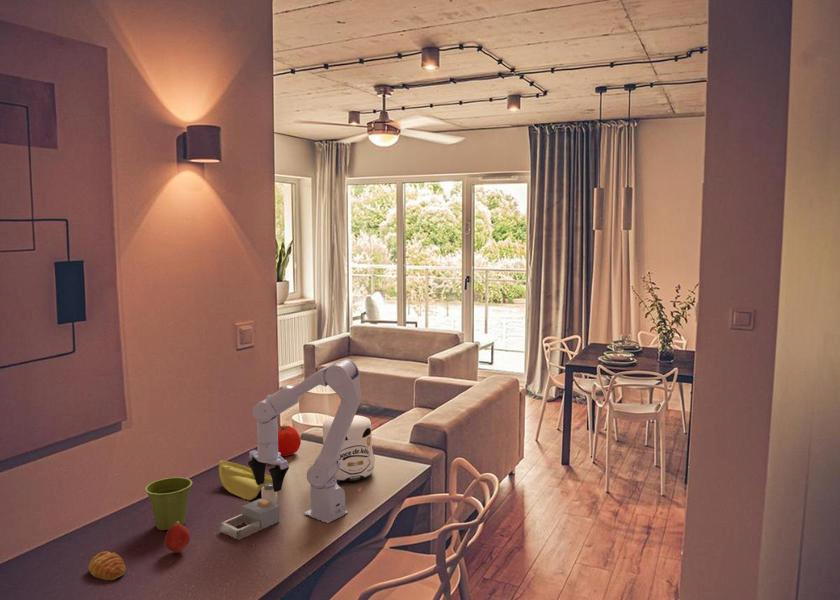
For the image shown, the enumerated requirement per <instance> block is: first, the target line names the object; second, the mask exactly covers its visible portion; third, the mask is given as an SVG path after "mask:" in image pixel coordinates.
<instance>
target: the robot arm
mask: <svg viewBox="0 0 840 600" xmlns="http://www.w3.org/2000/svg"><path fill="white" fill-rule="evenodd" d="M360 376H361V371H360V370H359V368H358V366H357V364H356V362H355V361H353V360H352V359H349V358H343V359H340V360H339V361H338V362H337V363H336V362H334V363H332V364H329V365H328V366H325V367H323V368H321V369H319V370H317V371H316V372H314V373H313V374H311V375H309V376H308V377H307V378H305V379H304V380H302V381H301V382H299V383H298V384H296V385H289V384H287V385H286V386H285V385H281V386H280V387H278V390H277V391H276V392H273V394H268V395H266V396H265V399H263V400H262V401H259V402H257V404H255V405H254V406H253V408H252V415H253V419H254V420H256V440H257V441H256V443H257V446H256V447H257V448H256V449H257V450H256V449H253V450H251V451H249V453H248V454H249V456H248V457H249V459H251V460H249V461H248V462H247V464H248V466H249V468H251V469H252V471H253V474H254V477H255V480H256V484H257V485H261V484H263V483H264V480H265V474H266V466H267V464H269V465H272V466H274V467H272V468H268V472H269V474H270V476H271V477H272V481H273V490H274V492H277V493H278V492H280V491H282V488H283V483H284V480H285V476H286V474H287V472H288V470H289V469H290V466H289V464H288V460H286V459H284V457H283V456H282V457H281V453H279V452H278V428H279V427H278V426H279V423H278V416H279V415H280V414H282V413H284V412H285V411H287V410H288V409H291V408H292V407H294V406H295V405H297V404H299V402H300V397H301V396H302V395H304V394H306V393H308V392H309V391H311V390H313V389H315V388H316V387H318V386H322V387H327V386H328V387H329V388H330V389H331V390H332V391H333V392H335V394H336V395H337V396H338V397H339V399H340V402H339V406H338V408H337V410H336V413H335V415H334V416H333V417H334V420H333V422H332V425H331V428H330V430H329V433H328V435H327V438H326V440H325V443H324V445H322V448H321V451H320V452H319V454H318V455H317V457H316V458H315V461H314V463H313V464H312V466H309V468H308V470H307V471H306V479H307V482H308V483H309V485H310V509H309V510H306V511H305V512H304V513H305V514H307V515H306V516H308V515H309V516H308V517H310V516H312V517H311V518H313V517H314V518H313V519H315V518H316V519H315V520H318V521H320V520H321V522H323V523H325V522H326V523H325V524H330V523H332V522H333V521H336V520H337V519H339V518H341V517H343V516H345V515H347V514H348V513H349V512H348V511H347V510H346V492H345V490H344V488H343V487H340V485H338V481H336V476H335V474H336V473H337V472H338V470H339V458H340V451H341V448H342V446H343V443H344V441H345V438H346V436H347V433H348V431H349V428H350V426H351V423H352V421H353V418H354V416H355V415H356V413H357V410H358V408H359V406H360V403H361V400H362V388H361V387H362V386H361V381H360ZM346 513H347V514H346ZM305 514H304V515H305ZM344 514H345V515H344Z"/></svg>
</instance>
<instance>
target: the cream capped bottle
mask: <svg viewBox="0 0 840 600" xmlns="http://www.w3.org/2000/svg"><path fill="white" fill-rule="evenodd" d="M260 492H261V493H260V494H261V499H262V500H263V499H265V500H267V501H270V502H271V503H272V504H275V505H277V506H279V505H278V502H279V501H278V491H277V492H274V490H273V484H271V483H269V484H265V485H264V487H262V488H261V490H260Z"/></svg>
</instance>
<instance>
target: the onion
mask: <svg viewBox="0 0 840 600" xmlns="http://www.w3.org/2000/svg"><path fill="white" fill-rule="evenodd" d="M190 540H191V534H190V531H189V529H188V528H187V527H186V526H185V525H180V522H178V521H177V522H176V523H175V524H174V525H173V526H172V527H171V528H170V529H169V530H167V531H166V533H165V536H164V545H165V547H166V548H167V549H168V550H170V551H172V552H173V553H177V554H179V553H182V552H183V550H184V549H185V548H186V547H188V545H189V543H190Z"/></svg>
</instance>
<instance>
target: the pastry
mask: <svg viewBox="0 0 840 600" xmlns="http://www.w3.org/2000/svg"><path fill="white" fill-rule="evenodd" d="M87 568H88V570H89V573H90V575H92V576H93V577H95V578H98V579H101V580H103V581H113V580H116V579H118V578H120V577H122V576H124V575H125V573H126V570H127V568H126V564H125V562H124V560H123V558H122V557H121V556H120V555H119V554H117V553H116V552H110V551H107V550H105V551H101V552H99V553H97V554H96V555H95V556H93V557H92V559H91V560H90V562H89V563H88V567H87Z"/></svg>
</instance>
